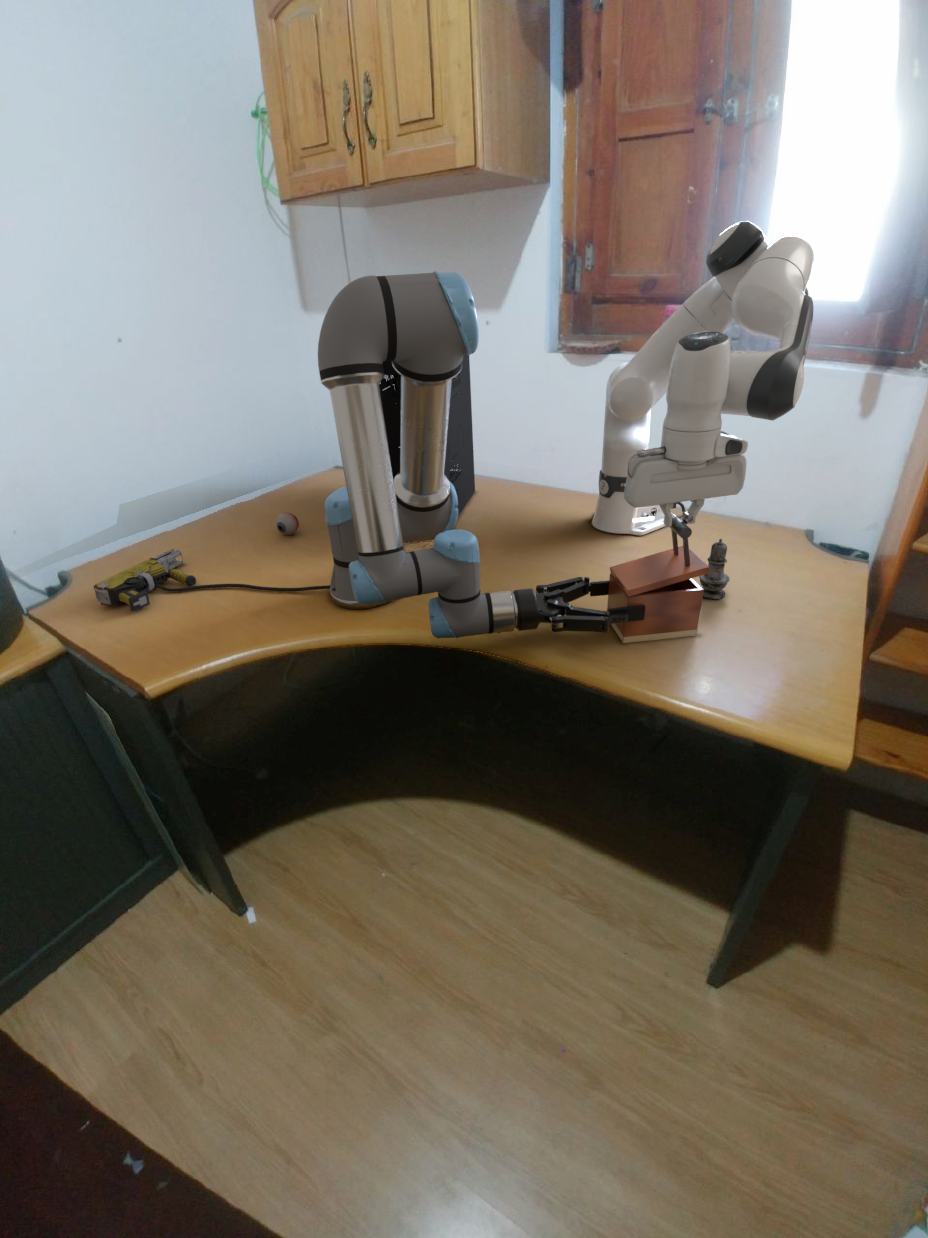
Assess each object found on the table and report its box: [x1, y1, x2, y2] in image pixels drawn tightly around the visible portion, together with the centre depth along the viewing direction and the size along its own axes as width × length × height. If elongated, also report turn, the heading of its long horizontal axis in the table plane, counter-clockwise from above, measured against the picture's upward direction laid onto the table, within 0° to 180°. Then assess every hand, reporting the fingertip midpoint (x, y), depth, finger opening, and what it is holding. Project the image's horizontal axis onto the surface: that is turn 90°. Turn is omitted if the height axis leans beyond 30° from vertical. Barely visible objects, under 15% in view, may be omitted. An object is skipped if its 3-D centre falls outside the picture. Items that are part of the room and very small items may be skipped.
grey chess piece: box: [698, 538, 731, 600], centre depth 121 cm, size 6×6×12 cm
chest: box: [606, 573, 704, 644], centre depth 112 cm, size 14×10×10 cm
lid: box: [609, 517, 709, 597], centre depth 107 cm, size 14×10×9 cm
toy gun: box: [93, 548, 197, 612], centre depth 139 cm, size 5×24×15 cm
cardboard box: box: [379, 355, 476, 517], centre depth 164 cm, size 38×20×45 cm, turn 167°
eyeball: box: [275, 511, 300, 536], centre depth 163 cm, size 6×6×6 cm
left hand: (633, 598), depth 111 cm, fingers closed on chest, 10 cm apart
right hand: (679, 524), depth 104 cm, fingers closed on lid, 2 cm apart
